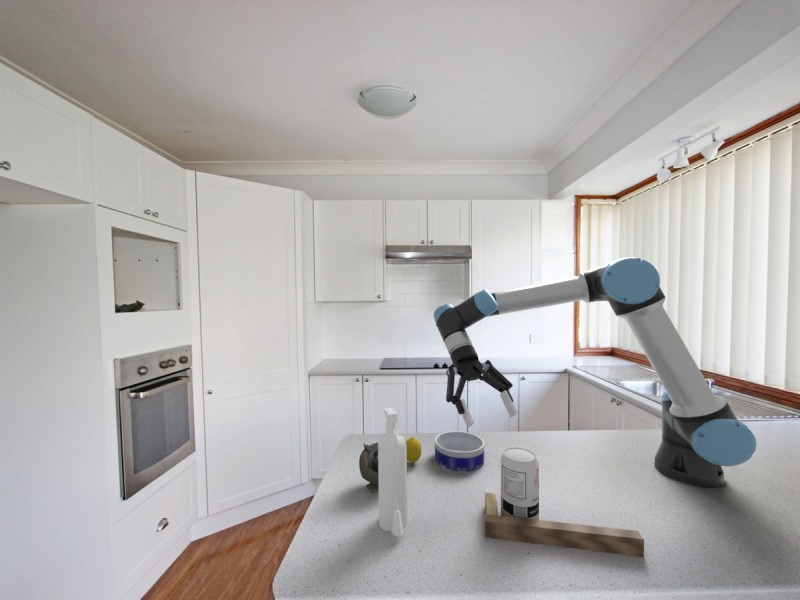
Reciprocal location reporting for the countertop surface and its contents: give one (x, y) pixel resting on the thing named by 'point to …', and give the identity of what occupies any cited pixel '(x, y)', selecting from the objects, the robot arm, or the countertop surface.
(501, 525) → the walnut fence
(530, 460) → the supplement can
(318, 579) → the countertop surface
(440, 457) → the dog bowl
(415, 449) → the lemon
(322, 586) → the countertop surface
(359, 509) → the countertop surface
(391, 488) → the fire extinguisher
